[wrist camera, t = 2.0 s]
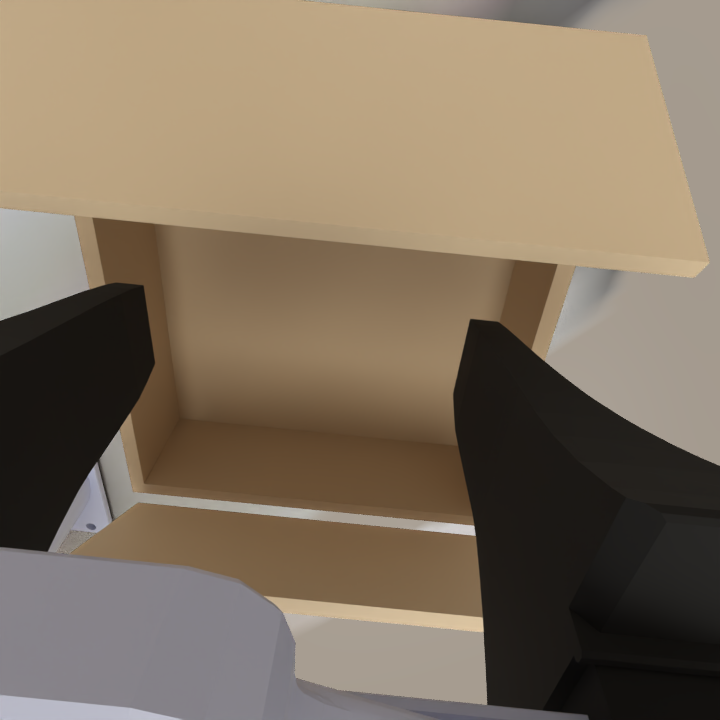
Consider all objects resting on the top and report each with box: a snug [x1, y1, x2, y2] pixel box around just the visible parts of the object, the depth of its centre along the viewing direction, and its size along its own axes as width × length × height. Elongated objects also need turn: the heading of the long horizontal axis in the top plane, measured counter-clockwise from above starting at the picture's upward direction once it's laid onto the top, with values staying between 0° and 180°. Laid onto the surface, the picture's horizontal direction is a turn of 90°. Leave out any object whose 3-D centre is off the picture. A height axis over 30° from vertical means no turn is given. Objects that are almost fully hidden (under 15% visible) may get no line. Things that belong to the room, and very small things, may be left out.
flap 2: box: [70, 503, 484, 632], centre depth 17 cm, size 13×6×1 cm
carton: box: [74, 216, 576, 525], centre depth 18 cm, size 14×16×4 cm
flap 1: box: [0, 0, 710, 278], centre depth 10 cm, size 13×6×1 cm
